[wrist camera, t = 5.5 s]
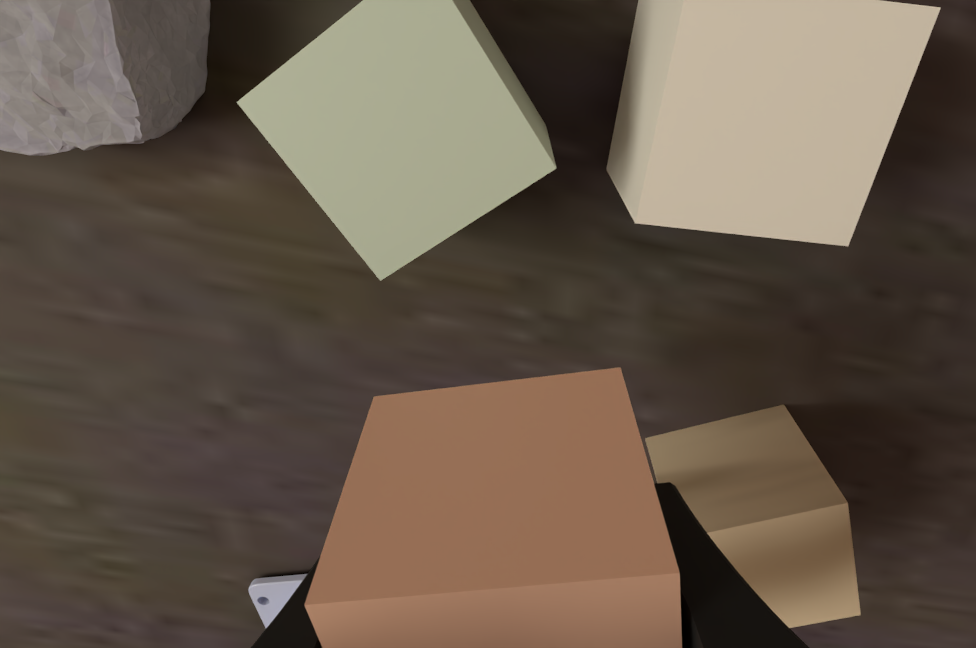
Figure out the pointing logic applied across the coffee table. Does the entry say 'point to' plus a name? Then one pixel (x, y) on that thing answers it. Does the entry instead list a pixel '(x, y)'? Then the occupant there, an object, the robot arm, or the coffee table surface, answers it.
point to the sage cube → (403, 125)
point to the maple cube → (767, 510)
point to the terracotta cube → (500, 524)
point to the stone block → (98, 71)
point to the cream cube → (762, 112)
